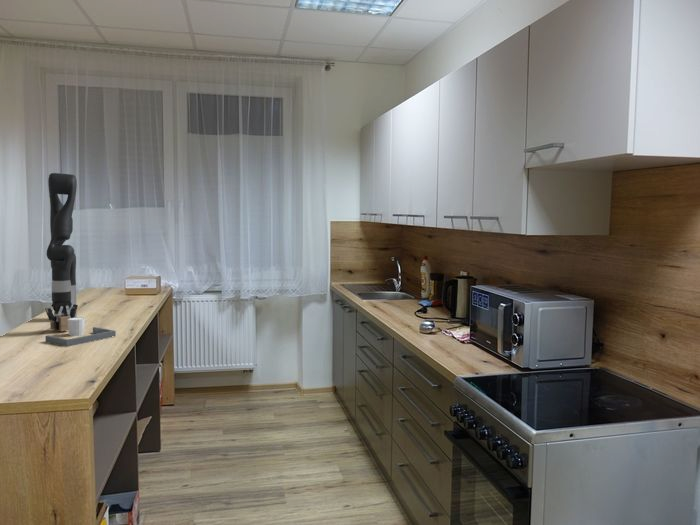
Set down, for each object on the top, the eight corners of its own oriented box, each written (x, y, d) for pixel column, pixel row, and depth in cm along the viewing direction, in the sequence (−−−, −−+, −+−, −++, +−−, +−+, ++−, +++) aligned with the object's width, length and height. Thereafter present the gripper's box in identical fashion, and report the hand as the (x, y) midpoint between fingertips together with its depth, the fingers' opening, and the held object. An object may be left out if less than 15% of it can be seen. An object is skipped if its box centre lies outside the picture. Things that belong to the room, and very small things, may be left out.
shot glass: (89, 333, 232) (88, 317, 232) (76, 336, 226) (75, 320, 225) (76, 332, 235) (76, 316, 234) (63, 335, 228) (63, 319, 228)
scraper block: (50, 329, 236) (50, 315, 236) (59, 327, 240) (58, 314, 239) (61, 331, 232) (61, 317, 232) (70, 329, 236) (69, 316, 235)
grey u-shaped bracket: (45, 341, 216) (45, 335, 216) (94, 332, 235) (94, 326, 235) (66, 346, 209) (66, 340, 209) (115, 336, 228) (115, 330, 228)
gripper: (71, 287, 242) (72, 325, 243) (40, 291, 229) (41, 330, 231) (81, 289, 238) (82, 327, 239) (50, 292, 226) (51, 332, 227)
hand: (62, 328), depth 235 cm, fingers closed on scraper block, 4 cm apart
